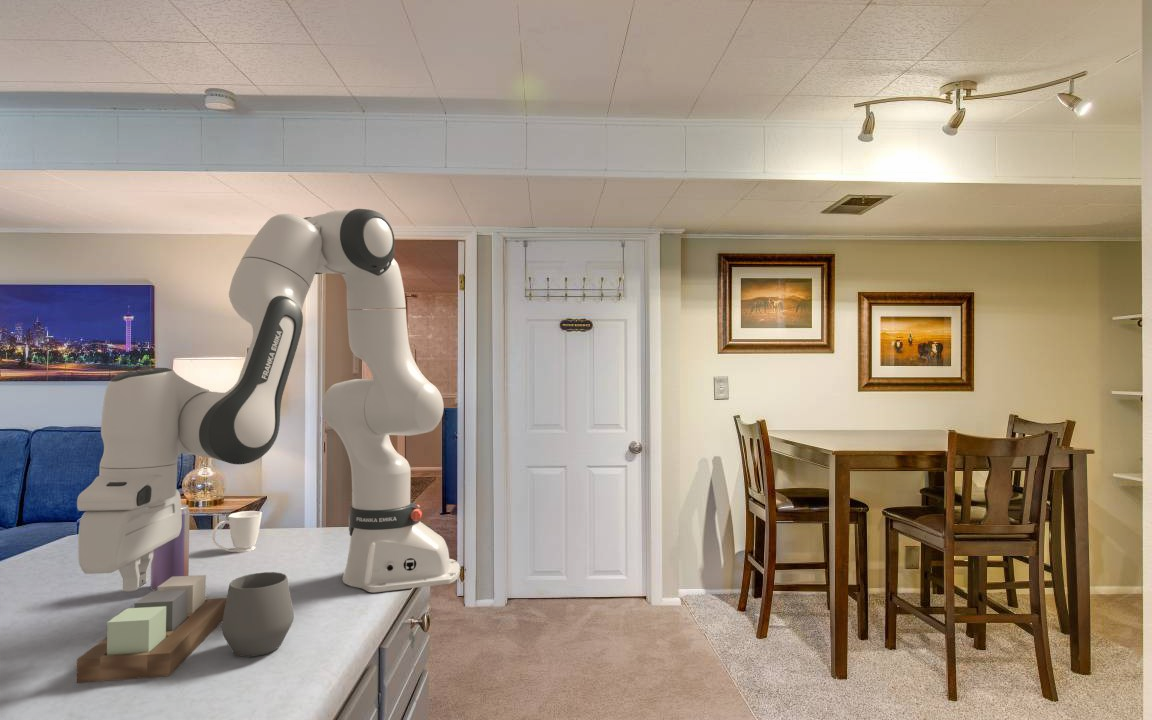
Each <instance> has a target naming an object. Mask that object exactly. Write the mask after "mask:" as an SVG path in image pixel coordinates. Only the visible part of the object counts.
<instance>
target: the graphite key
mask: <svg viewBox="0 0 1152 720" xmlns="http://www.w3.org/2000/svg"><path fill="white" fill-rule="evenodd" d="M133 605H134V607H133V608H144V607H162V606H166V632H168V631H174V630H175V629H176V628H177V627H178V626H179V625H180V624H181V623H183V622H184V621H185V620H186V619H187V590H168V591H153V590H152V591H149V592H148V593H147V594H145V595H143V596H142V597H141V598H140V599H138V600H137V601H135V602H134V604H133Z"/></svg>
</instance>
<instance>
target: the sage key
mask: <svg viewBox="0 0 1152 720" xmlns="http://www.w3.org/2000/svg"><path fill="white" fill-rule="evenodd" d="M106 624H107V626H106V627H107V628H106V632H107V633H106V634H107V636H106V637H107V655H117V654H132V653H147V652H150V651H151V650H152V649H154V648H155V647H156V646H157V645H158V644H159V643H160V642H161V641H162V640H164V639H165V638H166V606H162V607H144V608H134V607H132V608H131V607H129V608H126V609H124V610H123V611H121V612H120V613H119V614H117V615H115V616H114V617H113V618H111V619H110V620H109V621H107V623H106Z"/></svg>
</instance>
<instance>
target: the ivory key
mask: <svg viewBox="0 0 1152 720" xmlns="http://www.w3.org/2000/svg"><path fill="white" fill-rule="evenodd" d="M206 579H207V578H206V574H201V575H197V574H196V575H189V576H174V577H171V578H169V579H168V580H167V581H165V582H164V583H162V584H161V585H160V586H158V588H157V591H168V590H187V613H194V612H195V611H196V610H197V609H198V608H199V607H200V606H201V605H203V604H204V603H205V599H206V586H207V585H206V582H207V581H206Z"/></svg>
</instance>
